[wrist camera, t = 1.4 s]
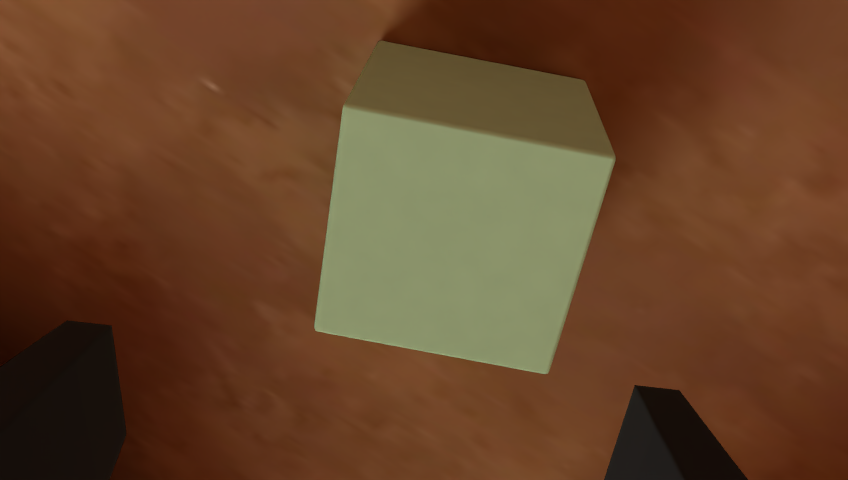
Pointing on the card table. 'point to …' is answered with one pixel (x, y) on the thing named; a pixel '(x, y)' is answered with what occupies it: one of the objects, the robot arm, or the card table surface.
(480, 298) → the felt cube
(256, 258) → the card table surface
